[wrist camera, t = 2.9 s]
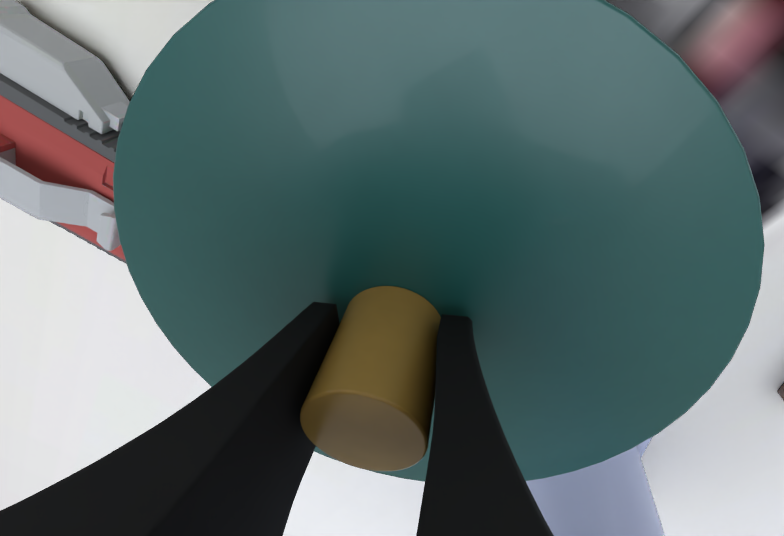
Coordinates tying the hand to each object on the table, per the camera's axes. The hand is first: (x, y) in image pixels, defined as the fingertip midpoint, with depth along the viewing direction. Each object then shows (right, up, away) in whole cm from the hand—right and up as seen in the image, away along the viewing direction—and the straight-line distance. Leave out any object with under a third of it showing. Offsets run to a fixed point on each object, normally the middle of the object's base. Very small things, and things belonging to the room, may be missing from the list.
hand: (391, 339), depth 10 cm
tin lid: (0, +1, +1) cm, 1 cm away
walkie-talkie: (-16, +9, +10) cm, 21 cm away
